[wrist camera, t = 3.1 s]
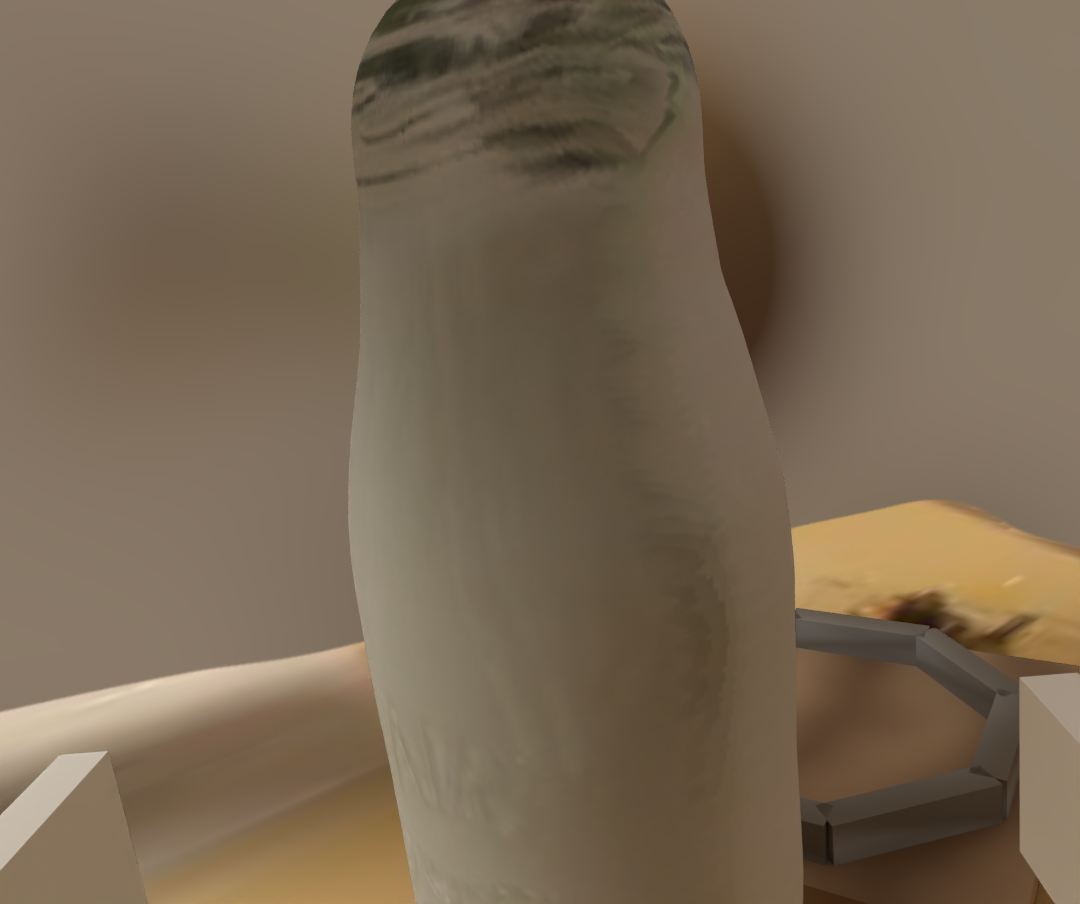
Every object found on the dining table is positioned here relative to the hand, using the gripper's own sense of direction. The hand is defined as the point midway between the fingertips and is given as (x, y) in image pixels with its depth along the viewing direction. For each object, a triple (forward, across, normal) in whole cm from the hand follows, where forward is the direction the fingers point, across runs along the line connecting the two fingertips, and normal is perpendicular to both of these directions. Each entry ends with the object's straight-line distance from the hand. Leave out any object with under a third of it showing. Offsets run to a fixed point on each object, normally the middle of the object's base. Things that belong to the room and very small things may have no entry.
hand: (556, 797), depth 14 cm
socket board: (+24, +8, -15) cm, 29 cm away
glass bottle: (+10, 0, -15) cm, 18 cm away
